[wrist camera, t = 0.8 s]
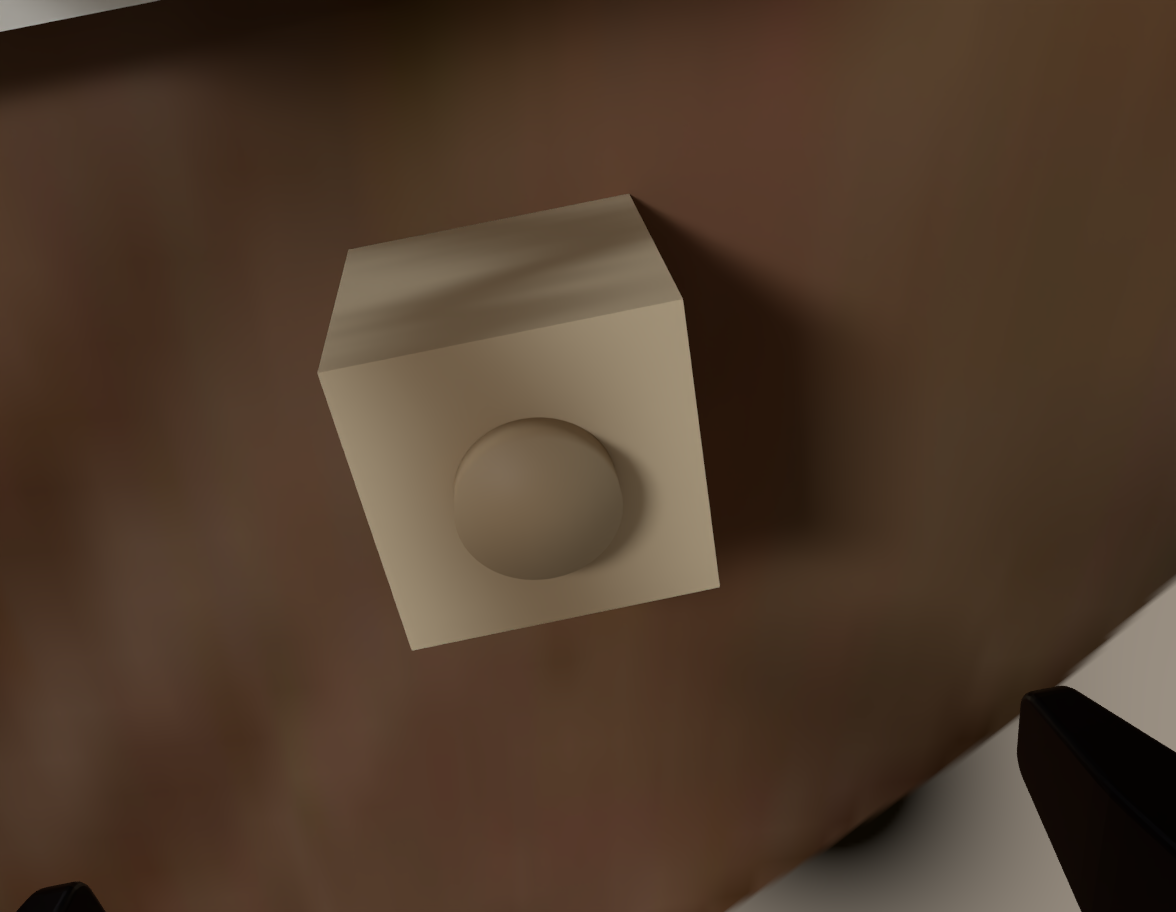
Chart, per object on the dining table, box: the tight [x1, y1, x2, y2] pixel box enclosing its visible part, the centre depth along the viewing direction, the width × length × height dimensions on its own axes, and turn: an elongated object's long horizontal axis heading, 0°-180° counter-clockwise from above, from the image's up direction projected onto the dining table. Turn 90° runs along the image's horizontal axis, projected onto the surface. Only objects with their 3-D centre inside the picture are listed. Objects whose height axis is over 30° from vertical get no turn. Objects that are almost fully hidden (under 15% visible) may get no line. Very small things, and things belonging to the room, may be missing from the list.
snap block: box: [318, 194, 720, 650], centre depth 17 cm, size 5×5×6 cm
